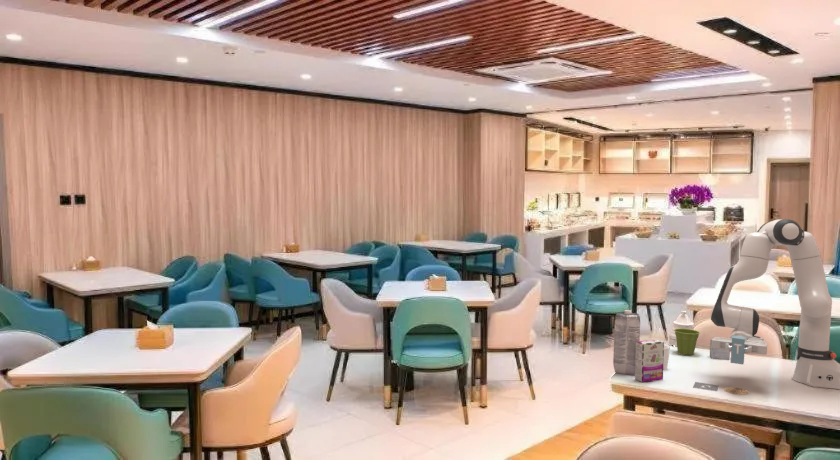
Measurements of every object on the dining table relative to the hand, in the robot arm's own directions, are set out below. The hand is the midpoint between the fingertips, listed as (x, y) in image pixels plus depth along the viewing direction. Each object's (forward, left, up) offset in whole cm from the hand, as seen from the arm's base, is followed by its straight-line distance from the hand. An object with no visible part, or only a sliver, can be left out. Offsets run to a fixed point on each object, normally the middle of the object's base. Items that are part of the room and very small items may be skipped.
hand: (737, 349), depth 257 cm
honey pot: (+29, -73, -17) cm, 80 cm away
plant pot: (+25, -55, -17) cm, 63 cm away
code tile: (+11, -1, -17) cm, 20 cm away
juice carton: (+44, -5, -17) cm, 47 cm away
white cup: (+32, -20, -17) cm, 41 cm away
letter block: (0, 0, -5) cm, 5 cm away
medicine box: (+10, -55, -17) cm, 58 cm away
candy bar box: (+33, +1, -17) cm, 37 cm away
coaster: (0, -1, -17) cm, 17 cm away
